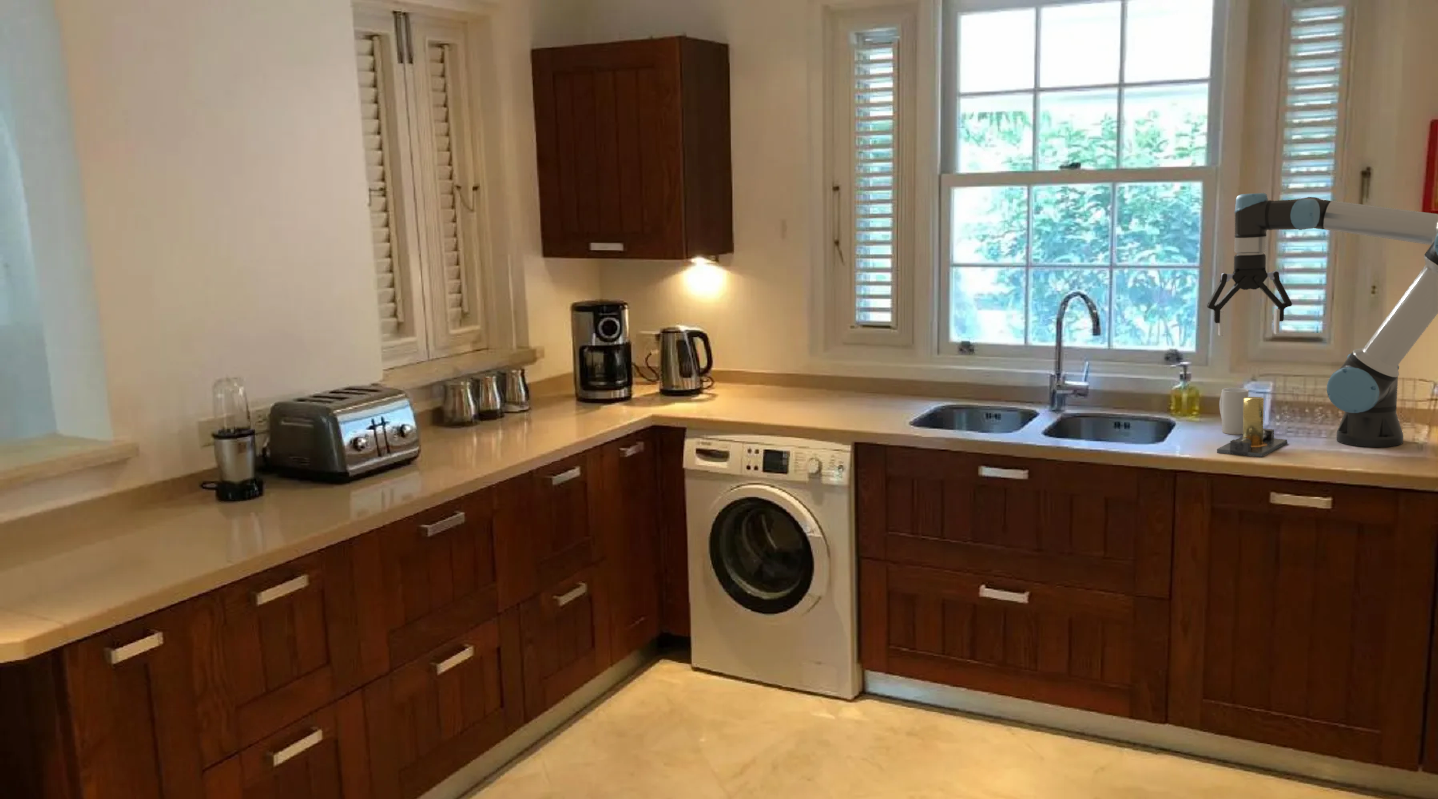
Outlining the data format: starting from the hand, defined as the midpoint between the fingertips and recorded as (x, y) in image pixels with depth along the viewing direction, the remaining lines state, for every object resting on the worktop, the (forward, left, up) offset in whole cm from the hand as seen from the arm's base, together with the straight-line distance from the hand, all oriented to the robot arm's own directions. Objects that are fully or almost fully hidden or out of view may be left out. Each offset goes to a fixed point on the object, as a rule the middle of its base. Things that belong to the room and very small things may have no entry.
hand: (1248, 334), depth 304 cm
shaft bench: (-4, +7, -29) cm, 30 cm away
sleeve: (-4, +7, -28) cm, 29 cm away
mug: (+8, -11, -29) cm, 32 cm away
